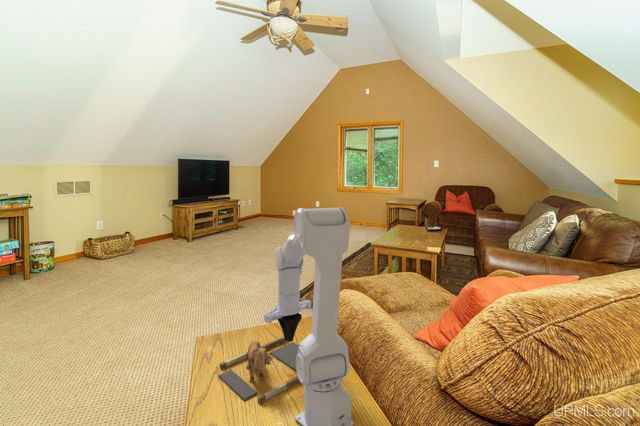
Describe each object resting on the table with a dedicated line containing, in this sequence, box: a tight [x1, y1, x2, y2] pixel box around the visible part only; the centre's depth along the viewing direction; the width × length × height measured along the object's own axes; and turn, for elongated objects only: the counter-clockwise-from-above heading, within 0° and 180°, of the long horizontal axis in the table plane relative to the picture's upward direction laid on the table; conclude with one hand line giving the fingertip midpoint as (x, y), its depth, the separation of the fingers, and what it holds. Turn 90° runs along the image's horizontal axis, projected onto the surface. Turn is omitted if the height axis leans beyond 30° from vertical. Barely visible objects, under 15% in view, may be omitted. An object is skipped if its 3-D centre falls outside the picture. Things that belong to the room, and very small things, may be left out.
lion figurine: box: [245, 340, 274, 383], centre depth 85 cm, size 15×5×9 cm, turn 25°
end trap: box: [217, 369, 258, 401], centre depth 80 cm, size 12×4×1 cm, turn 44°
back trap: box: [269, 341, 299, 373], centre depth 92 cm, size 12×8×1 cm
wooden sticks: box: [219, 336, 301, 404], centre depth 87 cm, size 18×22×1 cm
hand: (288, 340), depth 90 cm, fingers closed
